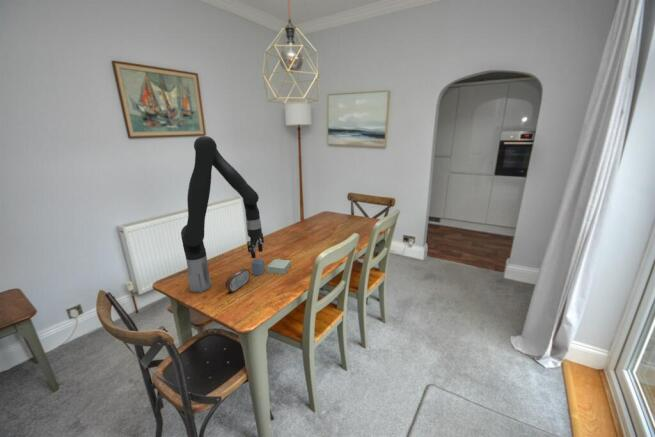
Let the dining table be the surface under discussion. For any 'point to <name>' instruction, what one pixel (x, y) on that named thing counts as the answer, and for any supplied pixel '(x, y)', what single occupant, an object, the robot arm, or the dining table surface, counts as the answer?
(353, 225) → the dining table surface
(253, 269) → the slate block
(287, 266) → the sage tile
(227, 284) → the tin
